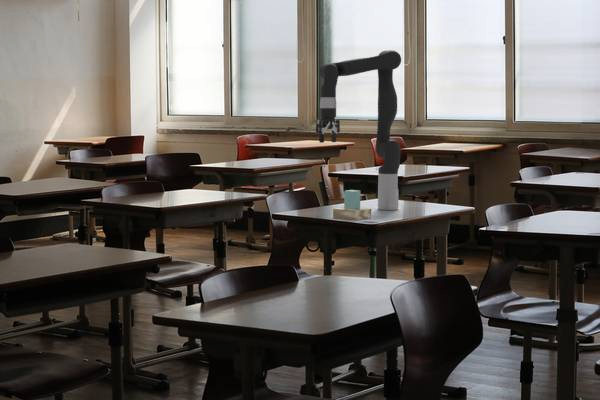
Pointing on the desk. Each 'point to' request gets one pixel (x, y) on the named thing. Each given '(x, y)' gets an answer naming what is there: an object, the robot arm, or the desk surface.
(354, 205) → the teal block
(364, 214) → the block
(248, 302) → the desk surface
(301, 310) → the desk surface
